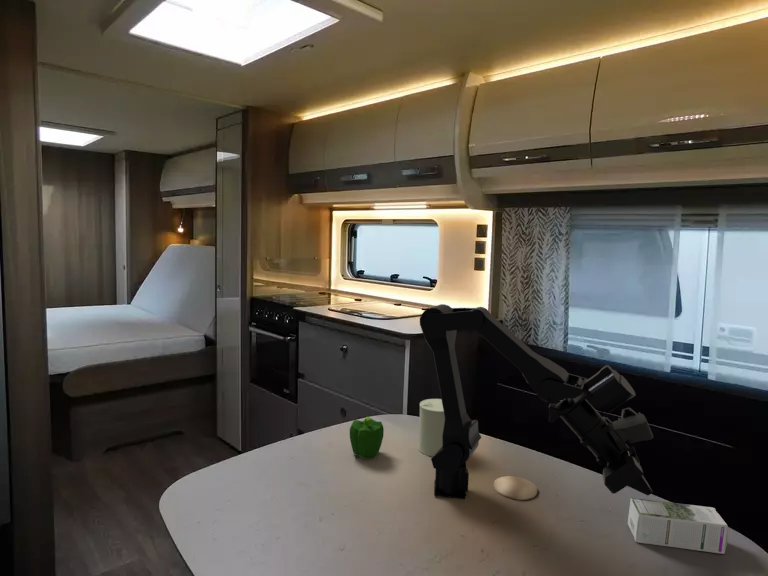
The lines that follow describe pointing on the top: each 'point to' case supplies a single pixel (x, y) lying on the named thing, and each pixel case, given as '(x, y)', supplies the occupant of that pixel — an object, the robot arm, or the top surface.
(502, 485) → the cork coaster
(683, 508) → the syrup box
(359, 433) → the bell pepper
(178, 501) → the top surface
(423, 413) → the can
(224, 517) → the top surface
